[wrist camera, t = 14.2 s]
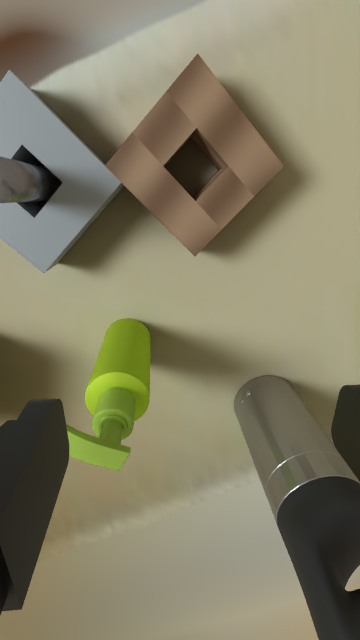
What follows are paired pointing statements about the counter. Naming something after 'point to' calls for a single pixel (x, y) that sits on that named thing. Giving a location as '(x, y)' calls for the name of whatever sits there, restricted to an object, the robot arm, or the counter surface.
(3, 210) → the socket block
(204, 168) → the counter surface
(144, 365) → the soap dispenser
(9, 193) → the steel pin
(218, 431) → the counter surface
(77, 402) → the counter surface
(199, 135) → the holder block
